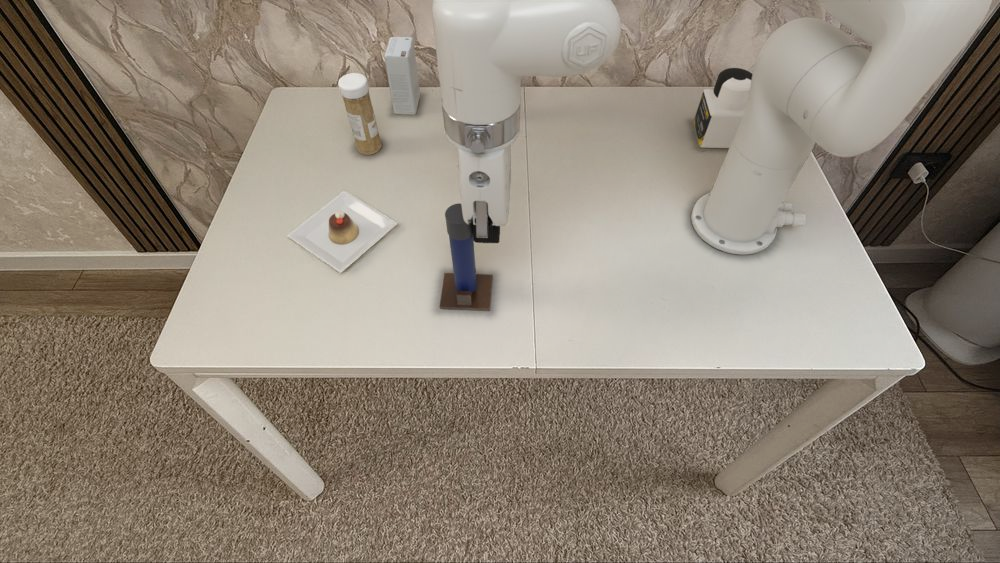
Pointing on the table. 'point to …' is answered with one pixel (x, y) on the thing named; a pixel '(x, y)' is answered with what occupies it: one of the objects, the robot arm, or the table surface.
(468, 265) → the marker
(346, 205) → the dessert
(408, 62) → the cosmetic box
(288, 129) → the table surface
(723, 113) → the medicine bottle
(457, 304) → the stand near
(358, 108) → the sprinkles bottle
